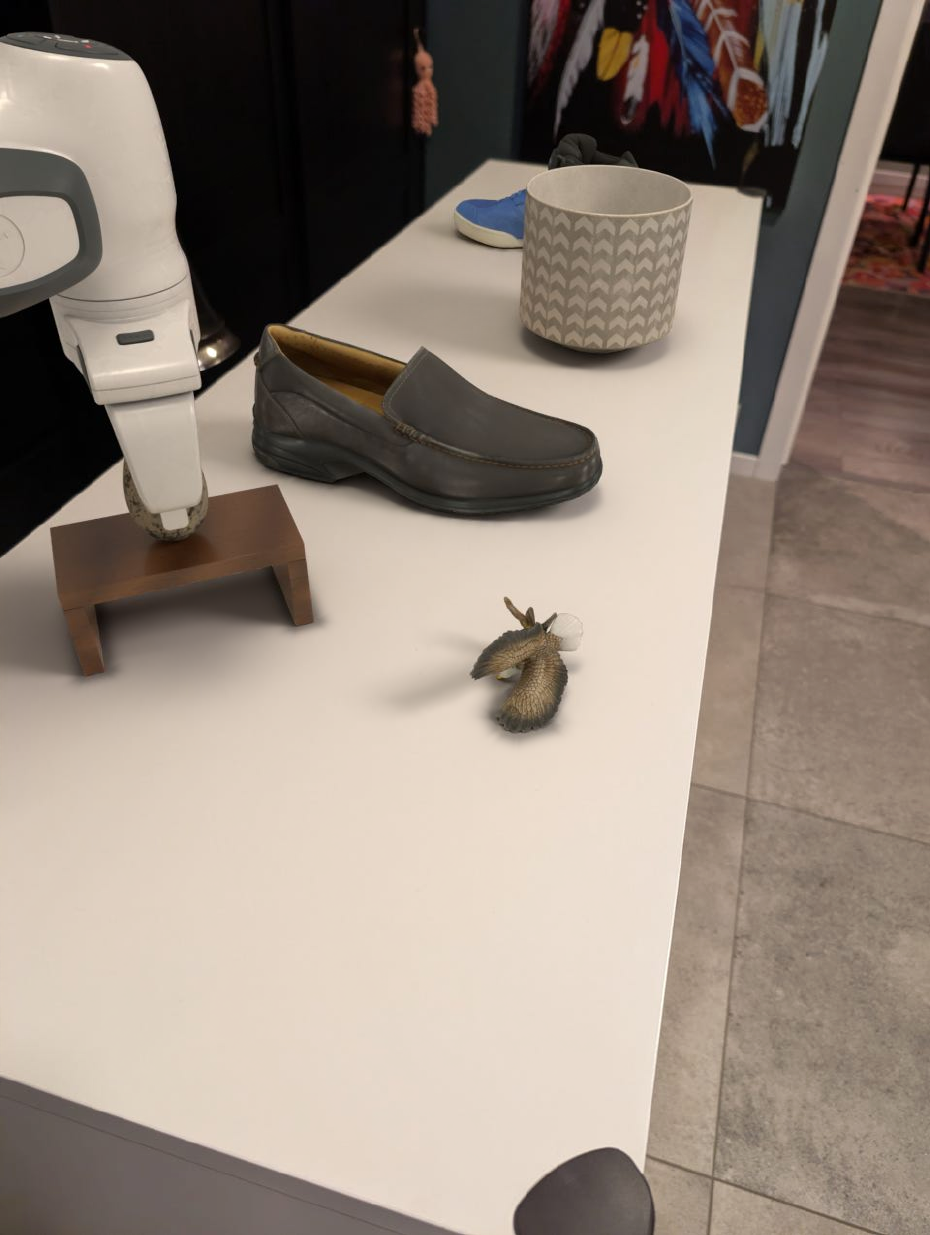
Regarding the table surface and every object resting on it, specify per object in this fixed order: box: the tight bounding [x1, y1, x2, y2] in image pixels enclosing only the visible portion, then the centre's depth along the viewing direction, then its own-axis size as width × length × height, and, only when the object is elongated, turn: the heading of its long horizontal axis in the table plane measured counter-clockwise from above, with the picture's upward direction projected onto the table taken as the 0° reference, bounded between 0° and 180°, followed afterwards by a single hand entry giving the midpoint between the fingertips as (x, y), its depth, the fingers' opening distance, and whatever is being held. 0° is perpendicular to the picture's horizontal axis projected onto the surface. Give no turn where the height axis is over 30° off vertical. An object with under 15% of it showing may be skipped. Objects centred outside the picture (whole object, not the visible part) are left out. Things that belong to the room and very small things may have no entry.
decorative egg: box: [122, 457, 209, 541], centre depth 71 cm, size 6×6×10 cm
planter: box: [519, 165, 694, 354], centre depth 115 cm, size 19×19×18 cm
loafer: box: [251, 323, 604, 516], centre depth 92 cm, size 13×36×13 cm, turn 76°
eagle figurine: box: [469, 596, 584, 734], centre depth 71 cm, size 8×7×9 cm
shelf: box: [49, 483, 314, 677], centre depth 77 cm, size 18×9×8 cm, turn 112°
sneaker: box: [452, 133, 639, 249], centre depth 142 cm, size 12×29×16 cm, turn 71°
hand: (167, 496), depth 72 cm, fingers open, 6 cm apart
